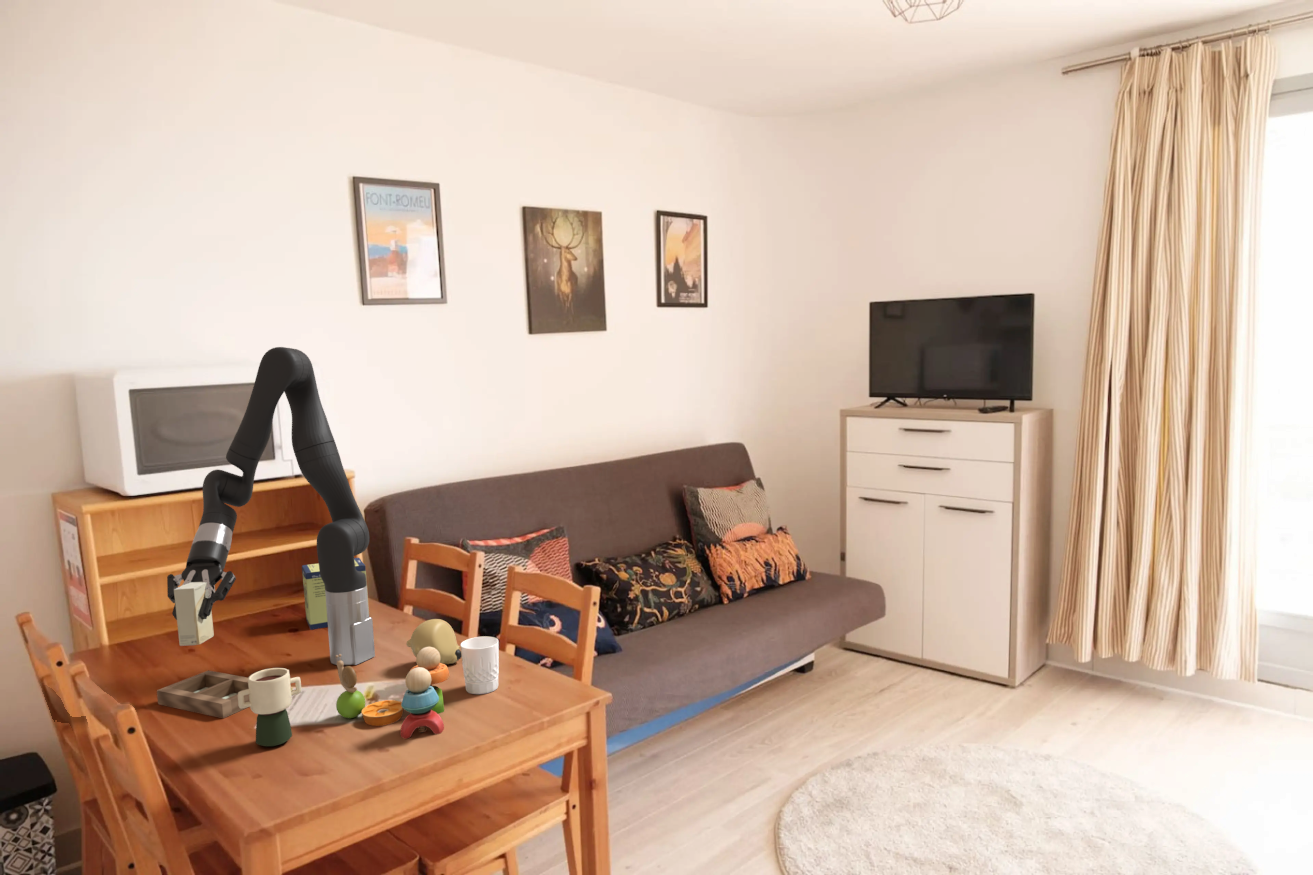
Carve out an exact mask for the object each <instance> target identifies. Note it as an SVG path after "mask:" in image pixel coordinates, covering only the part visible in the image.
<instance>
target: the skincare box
mask: <svg viewBox="0 0 1313 875" xmlns="http://www.w3.org/2000/svg"><path fill="white" fill-rule="evenodd" d="M206 583H207V582H206ZM206 583H204V582H191V583H188V584H185V585H179V586H178V588H176V589H174V596H175V603H174V605H175V606H176V615H177V620H176V624H177V633H178V641H179V642H178V644H179V646H180V647H183V646H184V647H185V646H197V645H202V644H203V643H205V642H206V641H208V640H210V639H212V638H213V637H214V636H215V632H214V623H213V614H212V613H213V612H212V611H213V610H211V613H210V615H209V616H207V619H202V618H201V617H200V616H199V613H200V609H201V606H202V602H203V599H205V598H206V597H205V591H206V589H205V586H206Z"/></svg>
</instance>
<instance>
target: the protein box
mask: <svg viewBox="0 0 1313 875" xmlns="http://www.w3.org/2000/svg"><path fill="white" fill-rule="evenodd" d="M354 561H355V568H356V570H357V571H360V572H363V573H364V574H365V575H366V576H367V569H366V564H365V563H364V562H363V561H362V559H361V558H360V557H354ZM301 573H302V584H303V585H302V586H303V595H304V596H303V597H304V606H305V620H306V622H307V625H308V627H309V629H310V631H312V630H318V629H324V628H328V622H327V608H326V594H325V585H324V582H323V580H322V578H321V576H320V570H319V562H318V563H311V564H303V565H301ZM366 582H367V578H366ZM367 583H368V582H367ZM367 596H368V597H367V598H368V599H369V594H368V591H367ZM369 609H370V608H369V605H368V611H369V612H370V610H369Z"/></svg>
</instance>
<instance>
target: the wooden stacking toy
mask: <svg viewBox="0 0 1313 875" xmlns="http://www.w3.org/2000/svg"><path fill="white" fill-rule="evenodd" d="M415 661H416V665H414V666H413V667H411V668H410V670H409V671H408V672H407V673H406V674H407V675H406V677H405V678H404V679H405V680H404V682H405V686H406V688H407V690H406V691H405V692H404V695H403V697H402V701H400V700H394V699H387V700H385V699H384V700H380V701H376V702H373V703H370V704H368V705H365V707H364V708H363V709H362V711H361V715H362V718H363V720H364V723H365V725H367V726H372V727H378V726H379V727H380V726H387V725H391V724H393V723H395V722H397V721H399V720H400V719H402V717H403V714H404V713H403V712H404V711H406V712H407V713H408V715H407V716H406V717H405V718H404V720H403V721H402V724H401V727H400V737H401V738H402V739H404V740H407V739H409V738H411V737H412V735H413V732H414V731H415V730H417V728H418V732H419V733H424V732H426V731H427V728H429V729H430V730H431V732H433V734H435V735H439V734H442V733H443V732H444V730H445V725H444V724H445V723H444V721H443V718H442V717H441V716H440V714H441V713H444V712H445V706H444V696H443V691H442V688H440V687H439V686H437V685H436V684H440V683H443V682H446V681H447V680H448V679H449V678H450V671H449V668H448V666H447V664H442V663H440V653H439V652H438V650H437V649H435V648H433V647H425V648H423V649H421V650H420V651H419V652H418V654H417V657H415Z"/></svg>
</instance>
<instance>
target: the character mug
mask: <svg viewBox="0 0 1313 875" xmlns="http://www.w3.org/2000/svg"><path fill="white" fill-rule="evenodd" d="M247 678H248V686H249V689H247V690H243V691H240V692H238V705H239V708H240V709H243V708H245V709H247V707H248V708H250V710H251V712H253V713H254V714H255V715H257V716H256V724H255V744H256V745H258V746H263V747H276V746H279V745H282V744H285V743H286V742H287V741H290V739H291V738H292V737H293V731H292V727H291V726H292V725H291V722H290V718H289V714H288V711H287V708H289V707H290V706H291V705H292V700H293V699H292V696H295V695H299V694H301V693H302V682H301V677H300V676H296V677H291V675H290V669H287V668H284V667H272V668H265V669H262V670H259V671H255V672H254V673H251V674H250V675H249V676H248V677H247ZM294 683H295V684H294ZM291 684H294V685H295V689H294V690H292V686H291ZM248 694H249V699H250V702H246V703H244V695H248ZM243 710H244V709H243Z"/></svg>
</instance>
